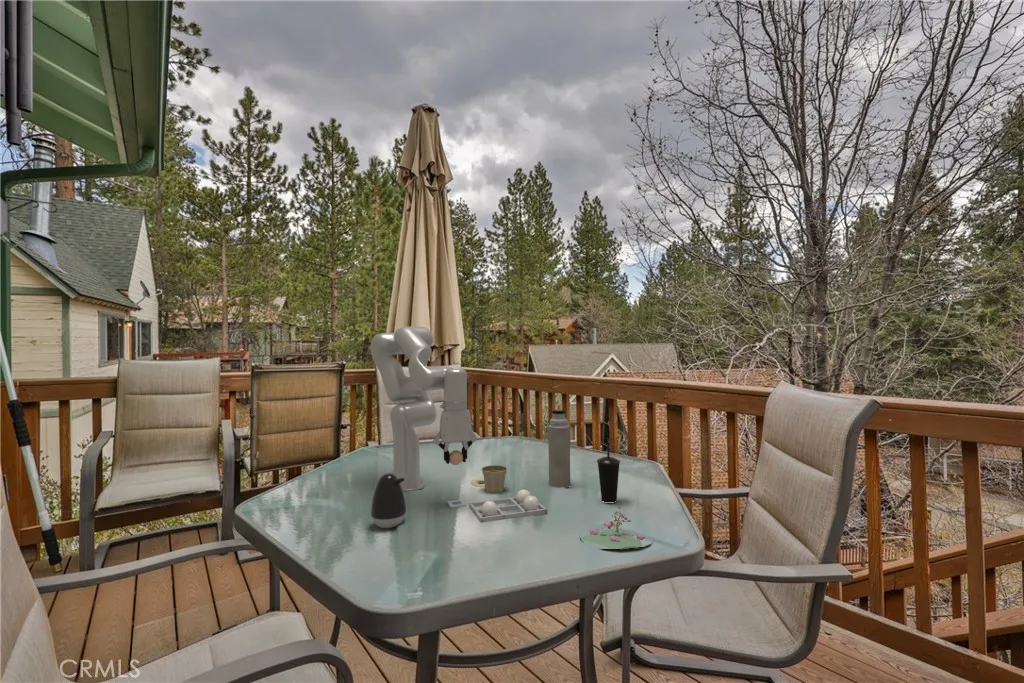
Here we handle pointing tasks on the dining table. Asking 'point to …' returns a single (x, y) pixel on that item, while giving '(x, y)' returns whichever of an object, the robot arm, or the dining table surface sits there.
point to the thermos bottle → (559, 450)
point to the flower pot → (494, 478)
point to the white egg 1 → (489, 508)
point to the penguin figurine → (388, 502)
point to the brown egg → (455, 457)
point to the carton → (540, 510)
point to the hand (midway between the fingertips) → (455, 461)
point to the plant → (614, 536)
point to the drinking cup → (608, 477)
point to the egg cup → (456, 504)
